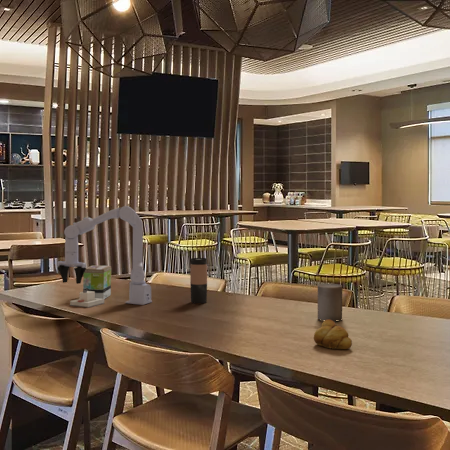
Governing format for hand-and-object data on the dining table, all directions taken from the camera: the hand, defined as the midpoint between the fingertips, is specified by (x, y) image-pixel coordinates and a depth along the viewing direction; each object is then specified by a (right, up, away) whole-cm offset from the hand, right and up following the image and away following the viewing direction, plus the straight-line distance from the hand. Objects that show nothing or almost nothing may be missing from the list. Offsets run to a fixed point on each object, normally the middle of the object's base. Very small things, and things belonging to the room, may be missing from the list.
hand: (71, 282), depth 250 cm
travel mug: (+56, -10, +7) cm, 57 cm away
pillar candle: (+109, -12, -28) cm, 113 cm away
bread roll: (+103, -14, -69) cm, 124 cm away
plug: (+7, -9, -1) cm, 12 cm away
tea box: (+8, -9, +17) cm, 20 cm away
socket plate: (+7, -10, -1) cm, 12 cm away
